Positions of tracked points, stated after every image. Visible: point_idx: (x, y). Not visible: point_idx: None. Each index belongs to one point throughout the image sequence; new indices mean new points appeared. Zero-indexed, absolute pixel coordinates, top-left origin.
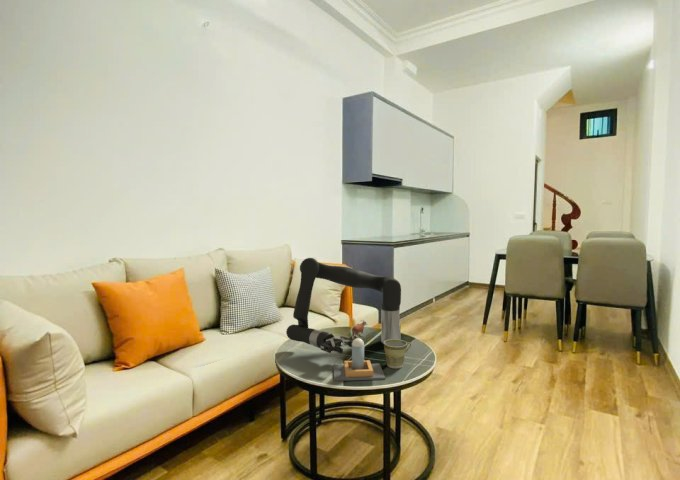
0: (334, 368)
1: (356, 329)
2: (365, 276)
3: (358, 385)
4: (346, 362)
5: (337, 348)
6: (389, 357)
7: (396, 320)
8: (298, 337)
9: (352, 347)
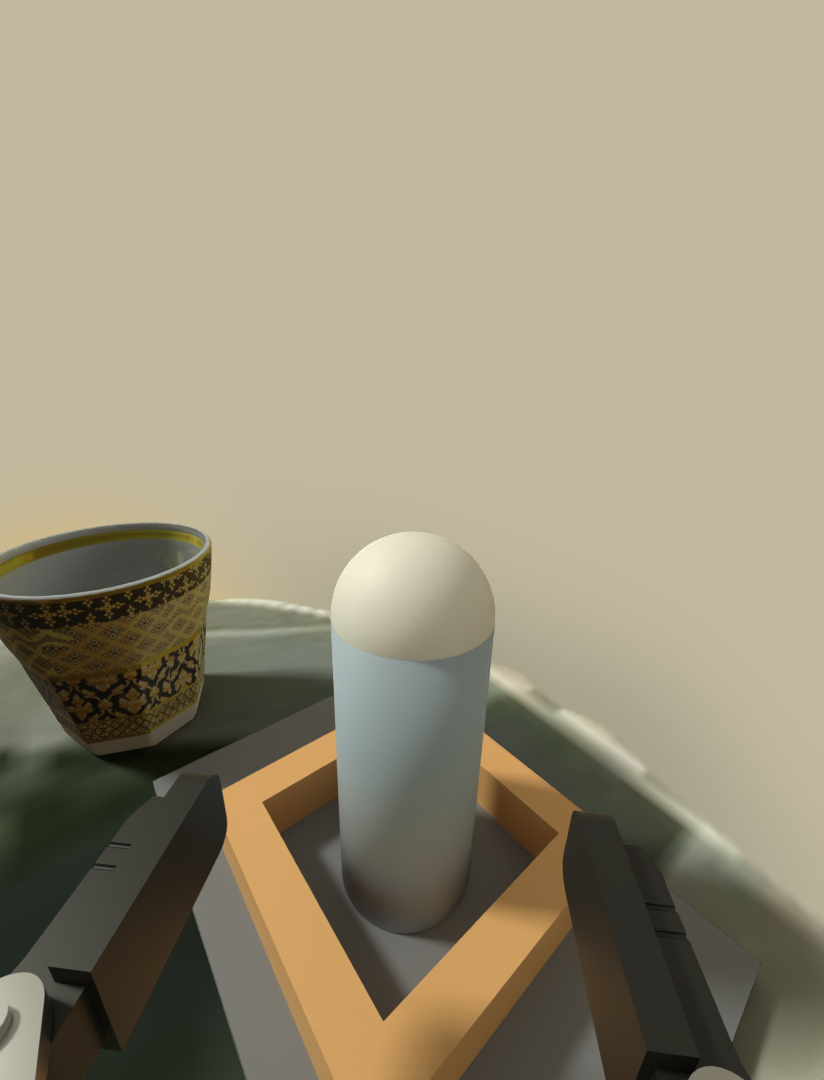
0: None
1: None
2: None
3: (580, 746)
4: (406, 1035)
5: (669, 926)
6: (197, 647)
7: None
8: None
9: (488, 660)
